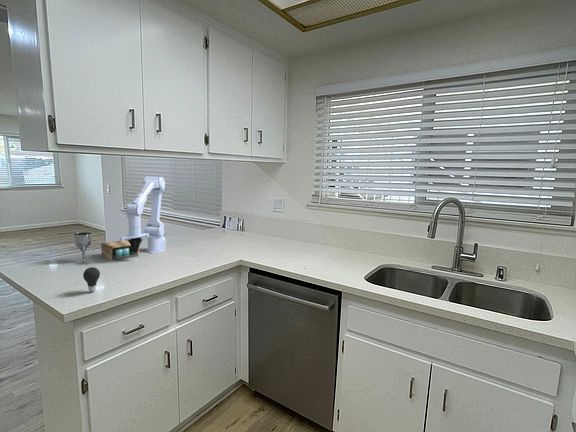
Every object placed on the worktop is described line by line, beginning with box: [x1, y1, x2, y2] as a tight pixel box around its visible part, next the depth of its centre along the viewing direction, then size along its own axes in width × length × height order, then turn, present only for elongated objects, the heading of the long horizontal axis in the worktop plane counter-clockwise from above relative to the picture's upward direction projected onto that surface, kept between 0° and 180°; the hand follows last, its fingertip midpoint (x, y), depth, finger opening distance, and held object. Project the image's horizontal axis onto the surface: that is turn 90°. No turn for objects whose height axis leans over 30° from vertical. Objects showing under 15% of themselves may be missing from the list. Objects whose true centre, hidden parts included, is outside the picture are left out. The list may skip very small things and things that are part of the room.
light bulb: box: [82, 266, 101, 293], centre depth 124 cm, size 6×6×10 cm
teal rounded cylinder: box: [122, 248, 130, 256], centre depth 174 cm, size 4×4×4 cm
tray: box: [112, 251, 139, 261], centre depth 173 cm, size 11×11×2 cm
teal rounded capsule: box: [114, 249, 123, 257], centre depth 171 cm, size 4×4×4 cm
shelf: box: [100, 240, 141, 260], centre depth 175 cm, size 16×10×7 cm, turn 143°
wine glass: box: [72, 231, 93, 265], centre depth 159 cm, size 8×8×15 cm
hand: (135, 252), depth 166 cm, fingers closed
